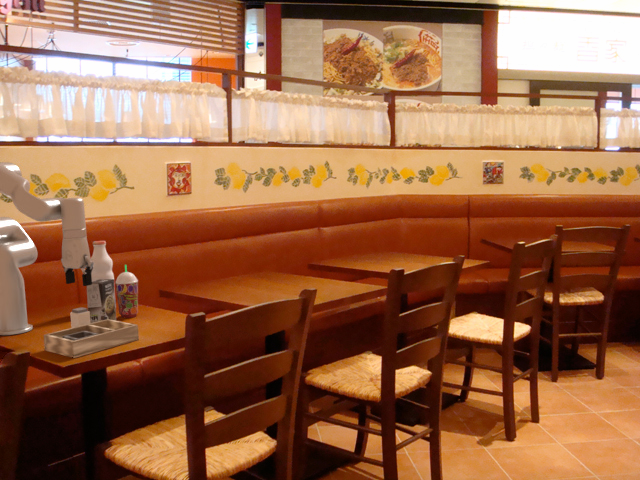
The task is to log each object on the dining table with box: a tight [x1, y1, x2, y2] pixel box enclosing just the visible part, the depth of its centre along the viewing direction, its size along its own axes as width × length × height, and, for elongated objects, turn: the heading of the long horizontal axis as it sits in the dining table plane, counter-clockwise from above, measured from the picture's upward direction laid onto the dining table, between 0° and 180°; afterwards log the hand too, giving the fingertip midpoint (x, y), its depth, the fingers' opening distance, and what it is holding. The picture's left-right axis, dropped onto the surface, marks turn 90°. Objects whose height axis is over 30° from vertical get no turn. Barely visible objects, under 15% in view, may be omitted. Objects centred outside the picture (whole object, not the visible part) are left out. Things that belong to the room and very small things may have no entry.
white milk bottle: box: [90, 240, 117, 307], centre depth 263 cm, size 9×9×28 cm
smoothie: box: [114, 264, 139, 319], centre depth 253 cm, size 8×8×20 cm
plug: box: [69, 307, 90, 328], centre depth 228 cm, size 4×4×9 cm
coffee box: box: [86, 278, 117, 323], centre depth 242 cm, size 9×6×16 cm
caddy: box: [43, 319, 139, 359], centre depth 215 cm, size 16×24×5 cm, turn 144°
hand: (79, 284), depth 226 cm, fingers open, 9 cm apart
